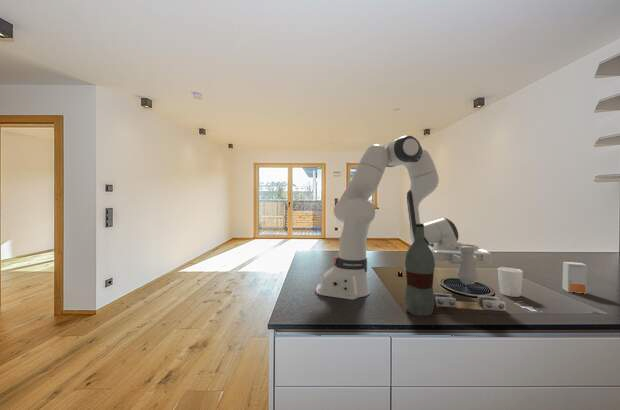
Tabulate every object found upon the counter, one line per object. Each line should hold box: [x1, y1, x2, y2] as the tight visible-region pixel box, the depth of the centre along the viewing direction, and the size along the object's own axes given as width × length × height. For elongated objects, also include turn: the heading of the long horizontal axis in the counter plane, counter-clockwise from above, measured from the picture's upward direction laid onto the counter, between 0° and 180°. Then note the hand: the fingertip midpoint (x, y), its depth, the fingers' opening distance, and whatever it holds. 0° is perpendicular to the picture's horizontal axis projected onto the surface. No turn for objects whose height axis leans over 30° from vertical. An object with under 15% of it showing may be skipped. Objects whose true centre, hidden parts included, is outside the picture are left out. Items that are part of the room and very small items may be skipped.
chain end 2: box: [477, 295, 506, 312], centre depth 90 cm, size 6×5×3 cm
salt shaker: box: [457, 246, 478, 285], centre depth 92 cm, size 6×6×13 cm
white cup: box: [497, 266, 524, 298], centre depth 103 cm, size 8×8×10 cm
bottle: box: [404, 223, 436, 317], centre depth 87 cm, size 9×9×30 cm
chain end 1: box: [433, 292, 457, 309], centre depth 93 cm, size 6×5×3 cm
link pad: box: [456, 300, 485, 311], centre depth 92 cm, size 9×6×1 cm
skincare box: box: [561, 261, 588, 295], centre depth 106 cm, size 6×4×12 cm
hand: (468, 260), depth 91 cm, fingers closed on salt shaker, 3 cm apart
